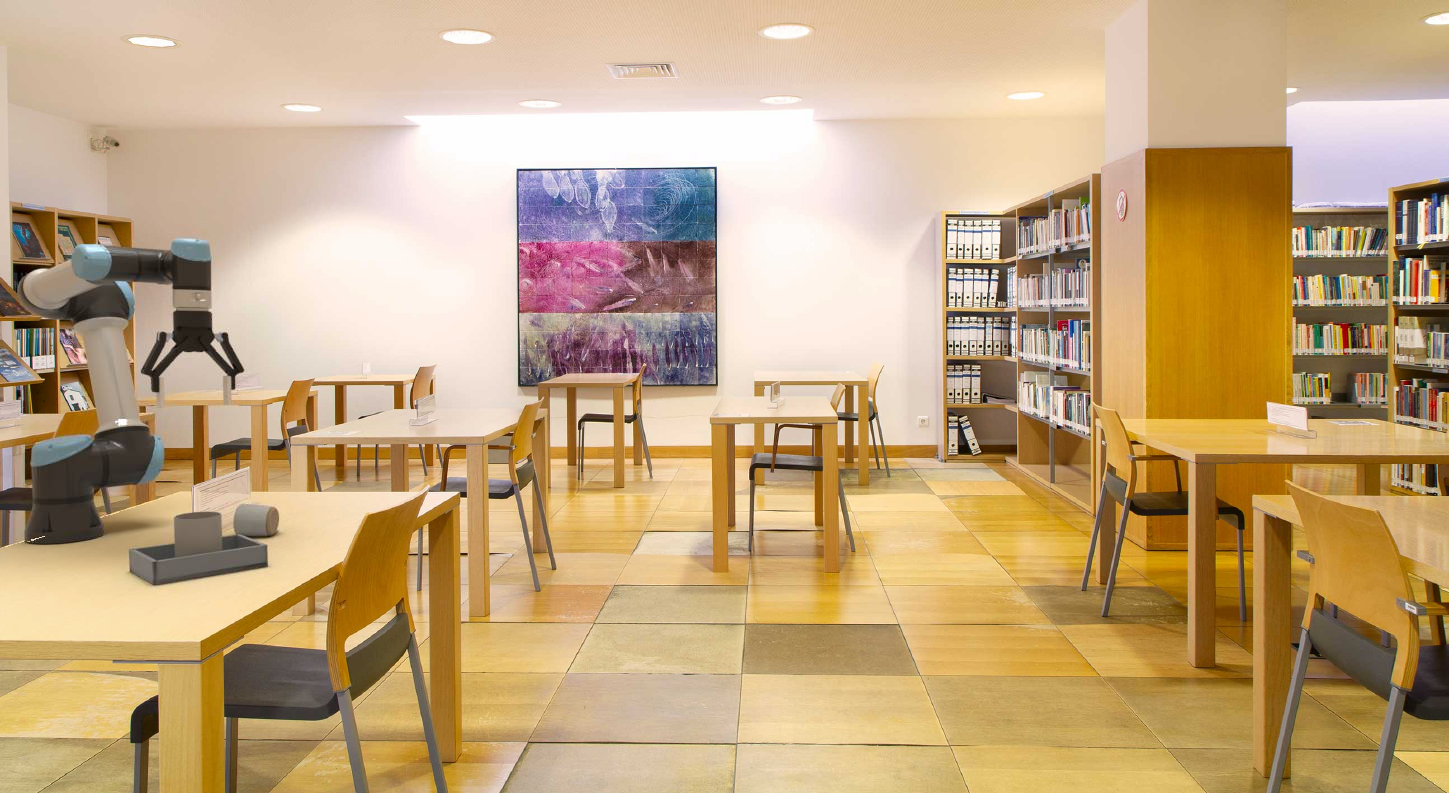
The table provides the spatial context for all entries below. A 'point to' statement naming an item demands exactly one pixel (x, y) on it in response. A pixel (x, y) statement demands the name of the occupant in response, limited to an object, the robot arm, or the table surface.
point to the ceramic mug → (255, 520)
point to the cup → (197, 533)
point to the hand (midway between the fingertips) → (194, 406)
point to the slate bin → (197, 560)
